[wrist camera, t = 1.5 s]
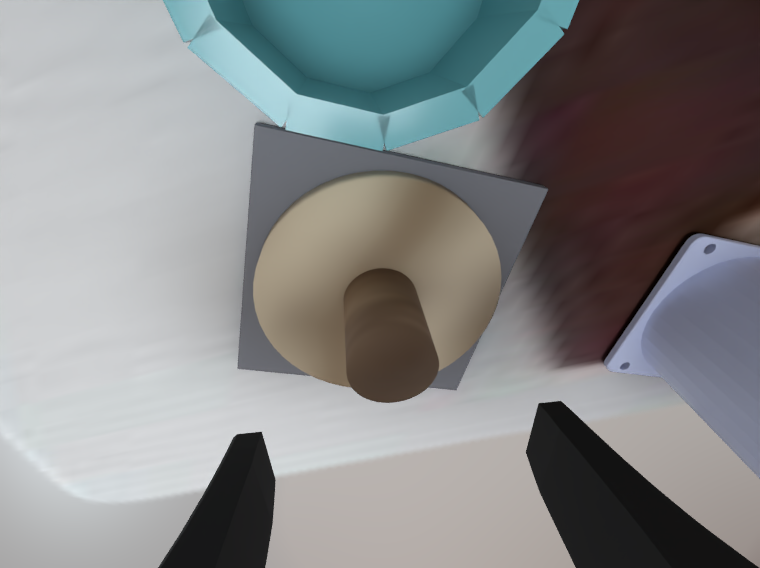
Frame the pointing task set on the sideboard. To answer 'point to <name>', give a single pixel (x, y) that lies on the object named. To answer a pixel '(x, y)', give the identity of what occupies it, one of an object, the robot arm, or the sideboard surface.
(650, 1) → the sideboard surface
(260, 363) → the mat
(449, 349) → the lid
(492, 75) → the bowl
